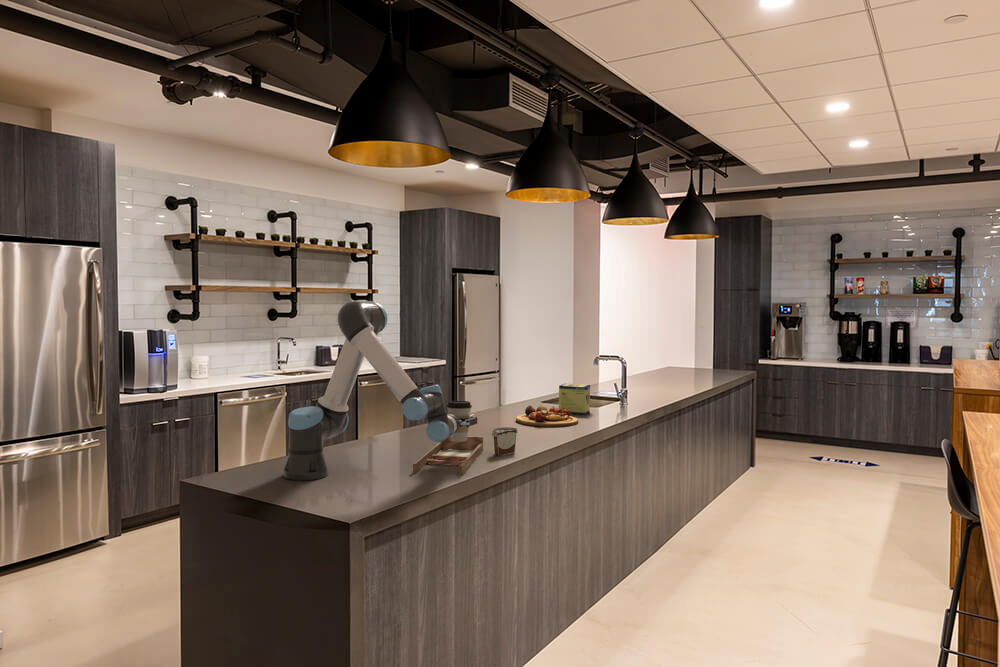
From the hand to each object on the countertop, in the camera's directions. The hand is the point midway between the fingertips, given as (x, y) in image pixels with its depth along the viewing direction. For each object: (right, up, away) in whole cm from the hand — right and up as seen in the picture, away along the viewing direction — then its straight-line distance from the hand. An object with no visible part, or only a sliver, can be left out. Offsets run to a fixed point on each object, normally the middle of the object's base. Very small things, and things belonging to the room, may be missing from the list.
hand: (461, 416), depth 271 cm
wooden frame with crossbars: (-4, -16, -9) cm, 19 cm away
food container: (+16, -16, +7) cm, 23 cm away
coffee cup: (-1, -9, -4) cm, 10 cm away
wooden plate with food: (+39, -13, +79) cm, 90 cm away
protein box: (+56, -11, +107) cm, 122 cm away
